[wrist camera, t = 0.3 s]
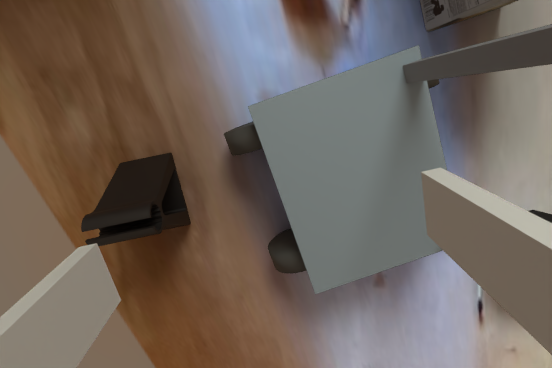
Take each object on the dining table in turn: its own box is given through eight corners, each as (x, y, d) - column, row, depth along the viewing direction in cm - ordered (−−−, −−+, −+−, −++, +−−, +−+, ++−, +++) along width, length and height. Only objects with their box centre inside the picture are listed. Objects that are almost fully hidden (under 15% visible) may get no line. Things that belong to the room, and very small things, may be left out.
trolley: (220, 116, 39) (122, 151, 10) (410, 47, 39) (880, -120, 10) (277, 265, 44) (321, 580, 15) (447, 206, 43) (836, 412, 14)
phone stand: (191, 223, 42) (166, 269, 30) (143, 232, 42) (99, 283, 30) (171, 152, 40) (137, 172, 28) (121, 162, 40) (65, 186, 28)
